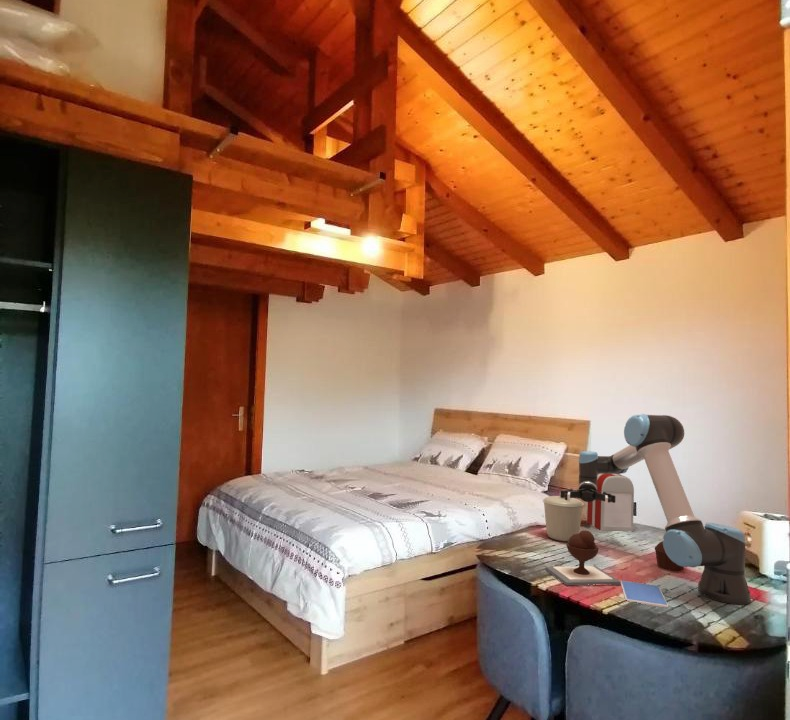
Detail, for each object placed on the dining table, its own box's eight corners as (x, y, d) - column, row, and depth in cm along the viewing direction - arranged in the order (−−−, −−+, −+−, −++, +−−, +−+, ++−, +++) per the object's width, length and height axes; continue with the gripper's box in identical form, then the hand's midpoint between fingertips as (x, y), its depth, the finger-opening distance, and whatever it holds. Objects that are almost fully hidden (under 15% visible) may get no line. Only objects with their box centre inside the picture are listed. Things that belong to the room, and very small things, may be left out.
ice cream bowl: (592, 568, 198) (593, 527, 199) (601, 578, 187) (602, 535, 188) (563, 566, 200) (564, 524, 200) (569, 576, 188) (571, 532, 189)
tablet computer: (619, 583, 191) (620, 579, 191) (659, 588, 187) (659, 585, 187) (625, 603, 172) (625, 599, 172) (669, 610, 168) (669, 605, 169)
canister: (586, 537, 248) (587, 491, 249) (579, 546, 232) (581, 497, 233) (546, 531, 256) (547, 486, 257) (537, 539, 240) (538, 491, 241)
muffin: (655, 560, 217) (656, 535, 218) (687, 566, 211) (687, 540, 212) (652, 568, 207) (653, 542, 207) (685, 575, 201) (686, 547, 202)
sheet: (612, 580, 188) (612, 578, 188) (570, 580, 185) (570, 579, 186) (592, 567, 201) (592, 566, 201) (552, 568, 198) (552, 566, 198)
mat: (620, 585, 187) (620, 581, 187) (566, 586, 184) (566, 582, 184) (595, 569, 203) (595, 566, 203) (545, 570, 199) (545, 566, 199)
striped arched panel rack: (616, 522, 279) (618, 470, 281) (634, 532, 262) (635, 476, 263) (585, 521, 278) (587, 469, 280) (600, 531, 261) (602, 474, 262)
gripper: (620, 503, 219) (623, 513, 199) (556, 497, 228) (552, 506, 208) (620, 485, 220) (623, 493, 200) (556, 479, 228) (553, 486, 208)
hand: (587, 499), depth 204 cm, fingers open, 13 cm apart
